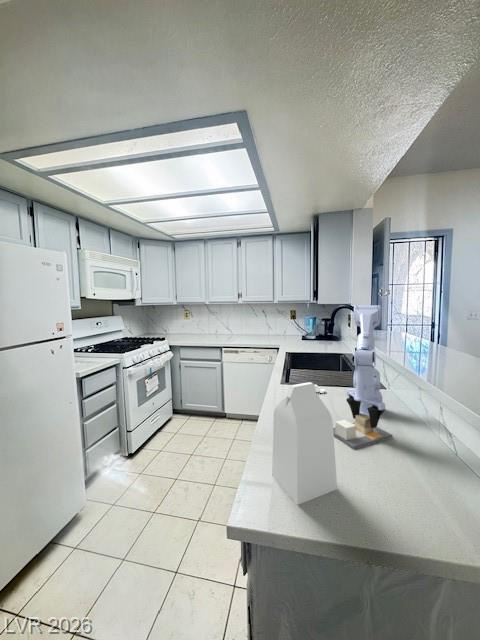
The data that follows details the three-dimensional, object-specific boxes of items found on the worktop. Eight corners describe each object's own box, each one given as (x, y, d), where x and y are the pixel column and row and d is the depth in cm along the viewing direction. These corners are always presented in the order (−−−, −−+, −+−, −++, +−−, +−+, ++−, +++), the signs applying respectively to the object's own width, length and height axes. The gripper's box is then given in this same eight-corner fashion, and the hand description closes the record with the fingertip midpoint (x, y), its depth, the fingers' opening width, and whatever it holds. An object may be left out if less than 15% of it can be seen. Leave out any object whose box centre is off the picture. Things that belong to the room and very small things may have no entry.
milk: (297, 504, 62) (295, 395, 60) (272, 475, 72) (270, 381, 71) (337, 489, 67) (337, 387, 65) (308, 463, 77) (307, 375, 75)
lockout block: (363, 426, 96) (364, 413, 95) (373, 431, 92) (373, 417, 92) (355, 429, 94) (355, 415, 94) (364, 434, 91) (364, 420, 90)
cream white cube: (344, 430, 93) (344, 419, 93) (355, 437, 89) (355, 425, 88) (335, 433, 92) (335, 421, 91) (346, 440, 87) (346, 428, 87)
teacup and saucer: (327, 392, 135) (327, 384, 135) (320, 397, 129) (319, 389, 129) (311, 389, 141) (311, 381, 141) (303, 393, 135) (303, 385, 135)
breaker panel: (363, 422, 101) (363, 420, 101) (392, 437, 90) (392, 434, 90) (327, 432, 95) (327, 429, 95) (353, 449, 84) (353, 446, 84)
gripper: (340, 380, 97) (340, 416, 98) (373, 392, 84) (373, 434, 85) (355, 377, 100) (355, 412, 101) (389, 389, 86) (389, 429, 87)
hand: (364, 422), depth 93 cm, fingers open, 7 cm apart
